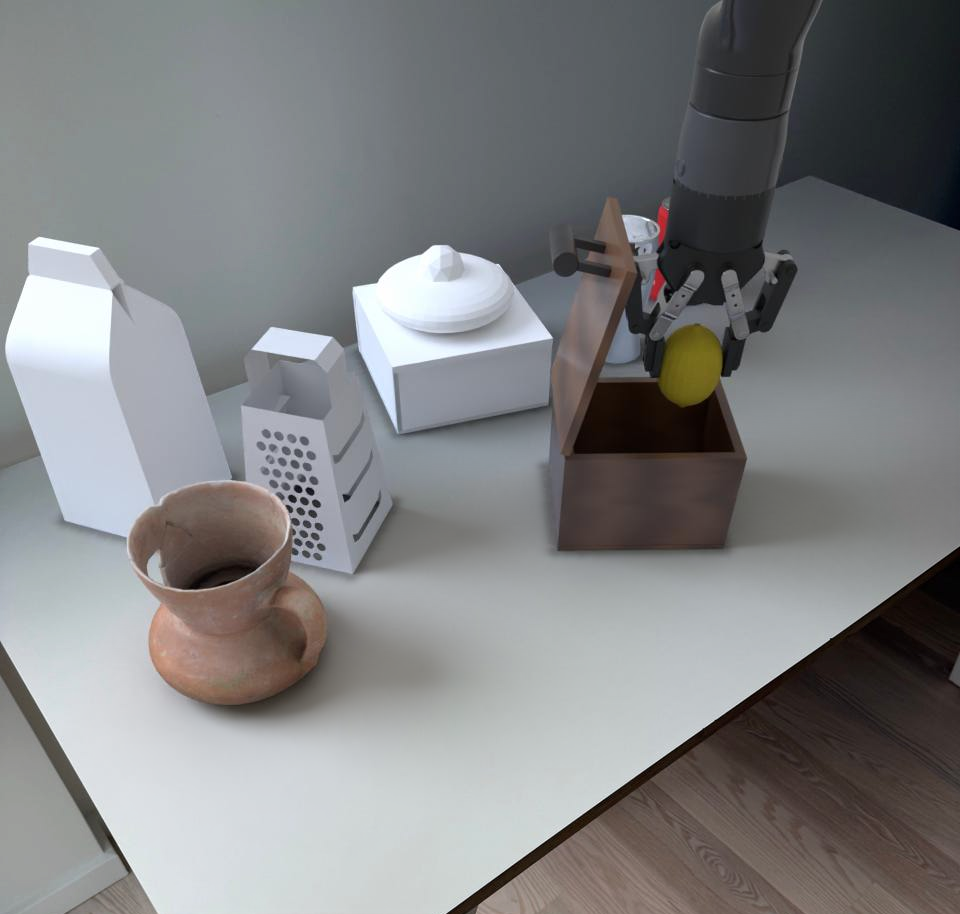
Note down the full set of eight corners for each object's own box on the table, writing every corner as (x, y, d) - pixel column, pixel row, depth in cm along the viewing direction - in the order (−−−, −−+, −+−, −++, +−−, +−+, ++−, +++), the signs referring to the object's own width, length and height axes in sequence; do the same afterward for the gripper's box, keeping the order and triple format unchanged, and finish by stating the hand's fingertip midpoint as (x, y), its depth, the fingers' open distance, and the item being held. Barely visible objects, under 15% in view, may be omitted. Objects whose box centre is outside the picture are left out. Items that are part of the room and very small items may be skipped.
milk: (65, 522, 90) (-48, 266, 71) (133, 455, 98) (47, 205, 78) (171, 551, 88) (82, 292, 68) (233, 479, 95) (168, 227, 76)
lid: (617, 198, 76) (553, 183, 75) (637, 273, 67) (566, 257, 66) (559, 373, 88) (503, 362, 87) (569, 456, 79) (508, 445, 78)
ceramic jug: (112, 668, 78) (54, 543, 67) (230, 568, 86) (195, 442, 75) (274, 764, 71) (238, 643, 61) (385, 646, 80) (371, 521, 69)
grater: (353, 576, 85) (326, 388, 70) (250, 554, 87) (203, 366, 73) (393, 506, 92) (376, 321, 77) (296, 486, 94) (262, 302, 79)
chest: (699, 467, 96) (719, 375, 88) (722, 551, 88) (747, 458, 79) (548, 469, 96) (554, 377, 88) (556, 553, 87) (564, 460, 79)
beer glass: (574, 352, 111) (584, 228, 100) (609, 330, 114) (623, 207, 103) (620, 374, 108) (636, 248, 97) (655, 351, 111) (674, 226, 100)
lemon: (649, 421, 82) (663, 338, 76) (652, 386, 85) (665, 305, 79) (713, 427, 81) (731, 344, 75) (713, 392, 85) (730, 310, 79)
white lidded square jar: (497, 330, 114) (498, 199, 103) (549, 409, 103) (558, 272, 91) (359, 354, 111) (344, 221, 99) (398, 439, 99) (386, 301, 88)
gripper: (810, 149, 70) (760, 349, 83) (622, 151, 70) (601, 350, 83) (837, 191, 65) (780, 396, 78) (635, 192, 65) (610, 398, 78)
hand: (688, 372), depth 80 cm, fingers closed on lemon, 5 cm apart
